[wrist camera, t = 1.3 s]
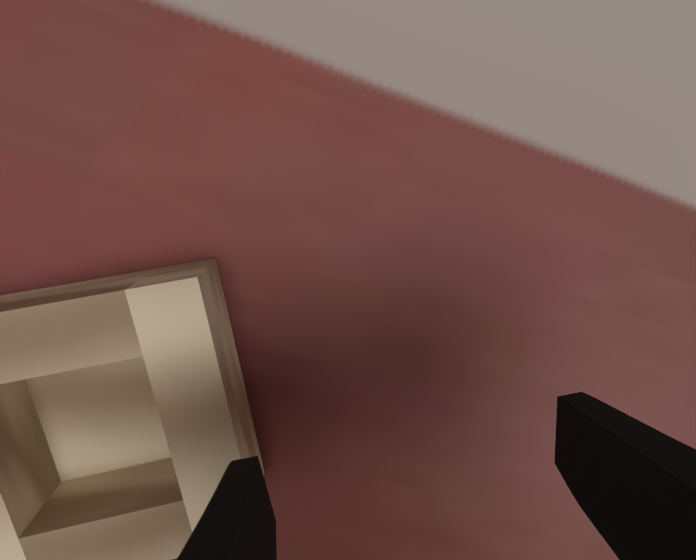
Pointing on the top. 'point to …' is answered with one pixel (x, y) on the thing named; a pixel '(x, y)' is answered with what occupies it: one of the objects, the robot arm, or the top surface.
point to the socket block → (117, 413)
